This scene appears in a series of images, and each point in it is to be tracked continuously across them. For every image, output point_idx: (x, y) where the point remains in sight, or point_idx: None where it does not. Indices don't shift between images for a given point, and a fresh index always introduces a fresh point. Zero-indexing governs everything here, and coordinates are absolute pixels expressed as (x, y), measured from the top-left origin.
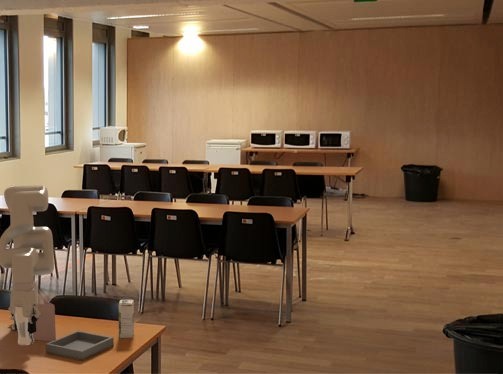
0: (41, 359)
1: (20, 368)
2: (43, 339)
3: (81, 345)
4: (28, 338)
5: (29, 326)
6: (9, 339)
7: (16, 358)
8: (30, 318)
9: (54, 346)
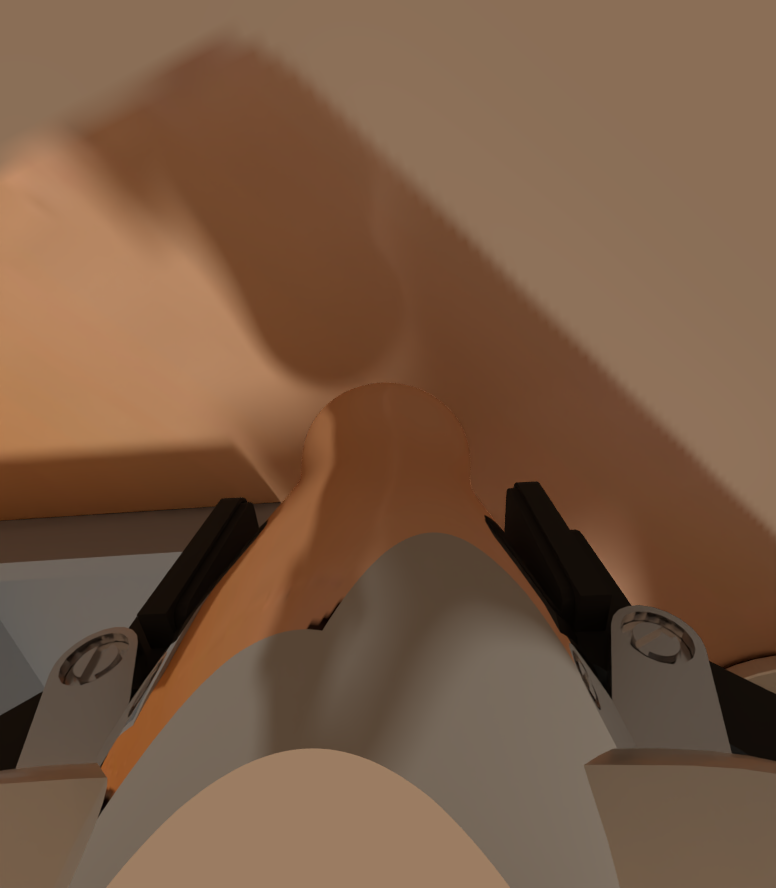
0: (182, 397)
1: (104, 122)
2: None
3: None
4: (301, 469)
5: (170, 572)
6: (733, 546)
7: (373, 301)
8: (23, 764)
9: (166, 549)
